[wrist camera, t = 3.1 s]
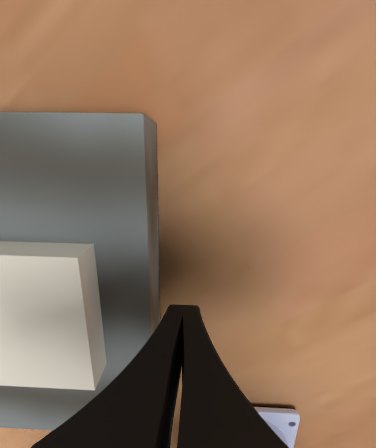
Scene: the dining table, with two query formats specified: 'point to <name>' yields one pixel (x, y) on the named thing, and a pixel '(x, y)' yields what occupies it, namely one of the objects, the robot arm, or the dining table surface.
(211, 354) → the robot arm
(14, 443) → the dining table surface
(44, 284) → the coaster
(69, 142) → the plate
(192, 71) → the dining table surface
